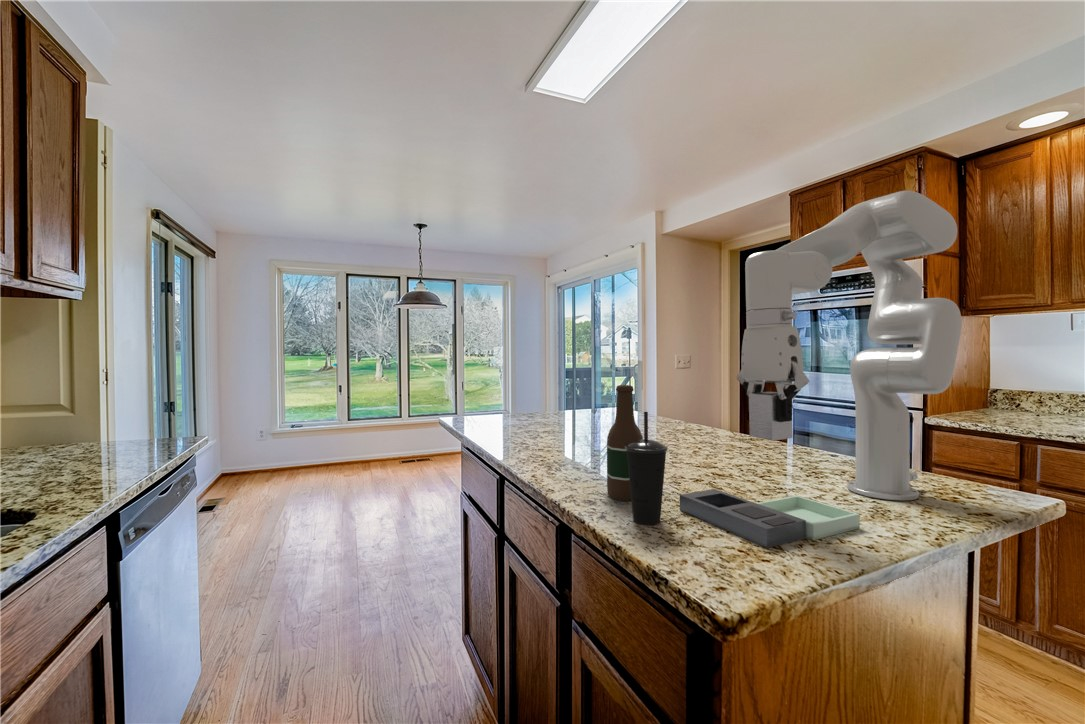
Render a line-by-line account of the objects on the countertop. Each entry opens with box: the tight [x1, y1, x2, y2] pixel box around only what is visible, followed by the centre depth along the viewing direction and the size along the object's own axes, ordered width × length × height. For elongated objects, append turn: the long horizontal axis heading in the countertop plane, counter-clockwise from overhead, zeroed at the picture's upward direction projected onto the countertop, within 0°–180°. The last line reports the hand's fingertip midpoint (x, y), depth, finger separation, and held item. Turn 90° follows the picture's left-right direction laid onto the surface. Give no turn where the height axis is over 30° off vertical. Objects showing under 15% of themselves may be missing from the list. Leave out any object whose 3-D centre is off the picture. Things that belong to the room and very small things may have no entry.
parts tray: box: [756, 494, 861, 541], centre depth 83 cm, size 12×12×2 cm
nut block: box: [748, 391, 793, 442], centre depth 84 cm, size 5×5×8 cm
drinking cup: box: [625, 411, 669, 526], centre depth 84 cm, size 8×8×20 cm
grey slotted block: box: [679, 488, 807, 549], centre depth 83 cm, size 9×20×3 cm, turn 24°
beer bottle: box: [606, 384, 644, 502], centre depth 99 cm, size 8×8×24 cm
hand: (770, 418), depth 84 cm, fingers closed on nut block, 5 cm apart
